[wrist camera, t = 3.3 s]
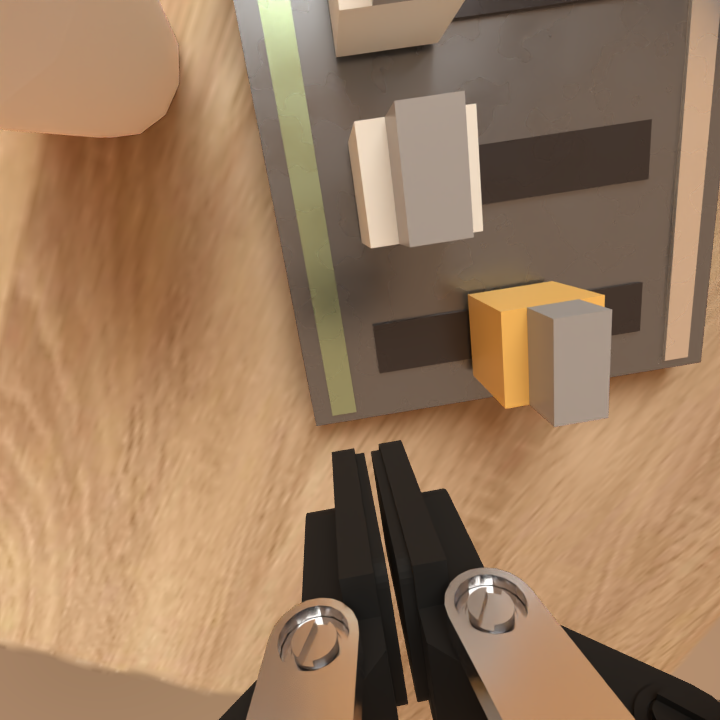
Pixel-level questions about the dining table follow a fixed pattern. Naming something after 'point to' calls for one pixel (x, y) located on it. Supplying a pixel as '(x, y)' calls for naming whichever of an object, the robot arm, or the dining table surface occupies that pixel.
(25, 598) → the dining table surface
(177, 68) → the foam cup
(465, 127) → the breaker
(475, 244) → the panel
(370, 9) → the breaker
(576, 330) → the breaker
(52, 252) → the dining table surface
